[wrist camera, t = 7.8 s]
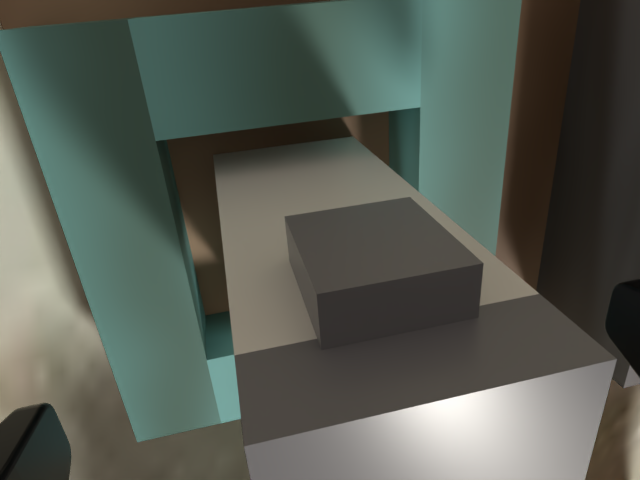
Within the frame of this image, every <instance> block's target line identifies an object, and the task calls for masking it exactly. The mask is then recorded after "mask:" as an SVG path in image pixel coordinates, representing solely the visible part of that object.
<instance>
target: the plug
mask: <svg viewBox="0 0 640 480" xmlns="http://www.w3.org/2000/svg"><path fill="white" fill-rule="evenodd" d="M213 159H214V169H215V178H216V187H217V197H218V206H219V216H220V225H221V235H222V244H223V254H224V263H225V272H226V282H227V291H228V301H229V310H230V320H231V329H232V339H233V348H234V357H235V367H236V376H237V386H238V395H239V405H240V414H241V424H242V433H243V442H244V449H245V454H246V459H247V464H248V469H249V474H250V479H251V480H585V477H586V474H587V470H588V466H589V462H590V459H591V455H592V451H593V447H594V444H595V440H596V436H597V432H598V429H599V425H600V421H601V417H602V414H603V410H604V406H605V402H606V399H607V395H608V391H609V387H610V384H611V380H612V376H613V372H614V369H615V365H616V361H617V359H616V358H615V357H614V356H613V355H612V354H610V353H609V352H608V351H607V350H606V349H605V348H603V347H602V346H601V345H600V344H599V343H597V342H596V341H595V340H594V339H593V338H591V337H590V336H589V335H588V334H587V333H586V332H584V331H583V330H582V329H581V328H580V327H578V326H577V325H576V324H575V323H574V322H572V321H571V320H570V319H569V318H568V317H567V316H565V315H564V314H563V313H562V312H561V311H559V310H558V309H557V308H556V307H555V306H554V305H552V304H551V303H550V302H549V301H548V300H546V299H545V298H544V297H543V296H542V295H540V294H539V293H538V292H537V291H536V290H535V289H533V288H532V287H531V286H530V285H529V284H527V283H526V282H525V281H524V280H523V279H521V278H520V277H519V276H518V275H517V274H516V273H514V272H513V271H512V270H511V269H510V268H508V267H507V266H506V265H505V264H504V263H502V262H501V261H500V260H499V259H498V258H497V257H495V256H494V255H493V254H492V253H491V252H489V251H488V250H487V249H486V248H485V247H483V246H482V245H481V244H480V243H479V242H478V241H476V240H475V239H474V238H473V237H472V236H470V235H469V234H468V233H467V232H466V231H464V230H463V229H462V228H461V227H460V226H459V225H457V224H456V223H455V222H454V221H453V220H451V219H450V218H449V217H448V216H447V215H446V214H444V213H443V212H442V211H441V210H440V209H438V208H437V207H436V206H435V205H434V204H432V203H431V202H430V201H429V200H428V199H427V198H425V197H424V196H423V195H422V194H421V193H419V192H418V191H417V190H416V189H415V188H413V187H412V186H411V185H410V184H409V183H408V182H406V181H405V180H404V179H403V178H402V177H400V176H399V175H398V174H397V173H396V172H394V171H393V170H392V169H391V168H390V167H389V166H387V165H386V164H385V163H384V162H383V161H381V160H380V159H379V158H378V157H377V156H375V155H374V154H373V153H372V152H371V151H370V150H368V149H367V148H366V147H365V146H364V145H362V144H361V143H360V142H359V141H358V140H356V139H355V138H354V137H353V136H352V137H345V138H337V139H330V140H322V141H314V142H307V143H299V144H291V145H284V146H276V147H268V148H261V149H253V150H246V151H238V152H230V153H223V154H215V155H213Z"/></svg>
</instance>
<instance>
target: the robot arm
mask: <svg viewBox="0 0 640 480" xmlns="http://www.w3.org/2000/svg"><path fill="white" fill-rule="evenodd" d="M605 330H606V333H607V335H608V337H609V338H610V340H611V341H612V342H613V344H614V345H615V346H616V348H617V349H618V350H619V352H620V353H621V354H622V356H623V357H624V358H625V359H626V361H627V362H628V363H629V365H630V366H631V367H632V369H633V370H634V371H635V373H636V374H637V375H638V377H639V378H640V279H636V280H631V281H626V282H621V283H619V284H617V285H616V286H615V287H614V288H613V290H612V293H611V297H610V301H609V305H608V310H607V314H606V318H605ZM70 465H71V449H70V444H69V441H68V439H67V437H66V434H65V432H64V430H63V428H62V425H61V423H60V421H59V419H58V416H57V414H56V412H55V410H54V408H53V407H52V406H51V405H50V404H48V403H41V404H36V405H31V406H26V407H22V408H19V409H16V410H15V411H13V412H12V413H11V414H10V415H9V416H8V417H7V418H5V419H4V420H3V421H2V422H1V423H0V480H69V474H70Z"/></svg>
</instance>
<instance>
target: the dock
mask: <svg viewBox="0 0 640 480" xmlns="http://www.w3.org/2000/svg"><path fill="white" fill-rule="evenodd" d="M0 22H1V25H2V28H3V30H0V52H1V55H2V58H3V61H4V63H5V66H6V69H7V72H8V75H9V78H10V81H11V83H12V86H13V89H14V92H15V95H16V98H17V101H18V103H19V106H20V109H21V112H22V115H23V118H24V121H25V123H26V126H27V129H28V132H29V135H30V138H31V140H32V143H33V146H34V149H35V152H36V155H37V158H38V160H39V163H40V166H41V169H42V172H43V175H44V178H45V180H46V183H47V186H48V189H49V192H50V195H51V198H52V200H53V203H54V206H55V209H56V212H57V215H58V218H59V220H60V223H61V226H62V229H63V232H64V235H65V238H66V240H67V243H68V246H69V249H70V252H71V255H72V257H73V260H74V263H75V266H76V269H77V272H78V275H79V277H80V280H81V283H82V286H83V289H84V292H85V295H86V297H87V300H88V303H89V306H90V309H91V312H92V315H93V317H94V320H95V323H96V326H97V329H98V332H99V335H100V337H101V340H102V343H103V346H104V349H105V352H106V355H107V357H108V360H109V363H110V366H111V369H112V372H113V374H114V377H115V380H116V383H117V386H118V389H119V392H120V394H121V397H122V400H123V403H124V406H125V409H126V412H127V414H128V417H129V420H130V423H131V426H132V429H133V432H134V434H135V437H136V440H137V442H141V441H146V440H150V439H154V438H159V437H163V436H168V435H172V434H176V433H181V432H185V431H190V430H194V429H198V428H203V427H207V426H212V425H216V424H220V423H225V422H229V421H234V420H238V419H241V414H240V405H239V395H238V386H237V376H236V367H235V357H234V348H233V339H232V329H231V320H230V310H229V301H228V291H227V282H226V272H225V263H224V254H223V244H222V235H221V225H220V216H219V206H218V197H217V187H216V178H215V169H214V159H213V155H215V154H223V153H230V152H238V151H246V150H253V149H261V148H268V147H276V146H284V145H291V144H299V143H307V142H314V141H322V140H330V139H337V138H345V137H352V136H353V137H354V138H355V139H356V140H358V141H359V142H360V143H361V144H362V145H364V146H365V147H366V148H367V149H368V150H370V151H371V152H372V153H373V154H374V155H375V156H377V157H378V158H379V159H380V160H381V161H383V162H384V163H385V164H386V165H387V166H389V167H390V168H391V169H392V170H393V171H394V172H396V173H397V174H398V175H399V176H400V177H402V178H403V179H404V180H405V181H406V182H408V183H409V184H410V185H411V186H412V187H413V188H415V189H416V190H417V191H418V192H419V193H421V194H422V195H423V196H424V197H425V198H427V199H428V200H429V201H430V202H431V203H432V204H434V205H435V206H436V207H437V208H438V209H440V210H441V211H442V212H443V213H444V214H446V215H447V216H448V217H449V218H450V219H451V220H453V221H454V222H455V223H456V224H457V225H459V226H460V227H461V228H462V229H463V230H464V231H466V232H467V233H468V234H469V235H470V236H472V237H473V238H474V239H475V240H476V241H478V242H479V243H480V244H481V245H482V246H483V247H485V248H486V249H487V250H488V251H489V252H491V253H492V254H493V255H494V256H495V257H497V258H498V259H499V260H500V261H501V262H502V263H504V264H505V265H506V266H507V267H508V268H510V269H511V270H512V271H513V272H514V273H516V274H517V275H518V276H519V277H520V278H521V279H523V280H524V281H525V282H526V283H527V284H529V285H530V286H531V287H532V288H533V289H535V290H536V291H537V292H538V293H539V294H540V295H542V296H543V297H544V298H545V299H546V300H548V301H549V302H550V303H551V304H552V305H554V306H555V307H556V308H557V309H558V310H559V311H561V312H562V313H563V314H564V315H565V316H567V317H568V318H569V319H570V320H571V321H572V322H574V323H575V324H576V325H577V326H578V327H580V328H581V329H582V330H583V331H584V332H586V333H587V334H588V335H589V336H590V337H591V338H593V339H594V340H595V341H596V342H597V343H599V344H600V345H601V346H602V347H603V348H605V349H606V350H607V351H608V352H609V353H610V354H612V355H613V356H614V357H615V358H616V359H617V361H616V365H615V369H614V372H613V376H612V378H613V379H614V380H615V381H616V382H617V383H618V384H619V385H620V386H622V387H623V388H626V387H630V386H634V385H638V384H640V378H639V377H638V375H637V374H636V373H635V371H634V370H633V369H632V367H631V366H630V365H629V363H628V362H627V361H626V359H625V358H624V357H623V356H622V354H621V353H620V352H619V350H618V349H617V348H616V346H615V345H614V344H613V342H612V341H611V340H610V338H609V337H608V335H607V333H606V330H605V318H606V314H607V310H608V305H609V301H610V297H611V293H612V290H613V288H614V287H615V286H616V285H617V284H619V283H621V282H626V281H631V280H636V279H640V0H0Z"/></svg>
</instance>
